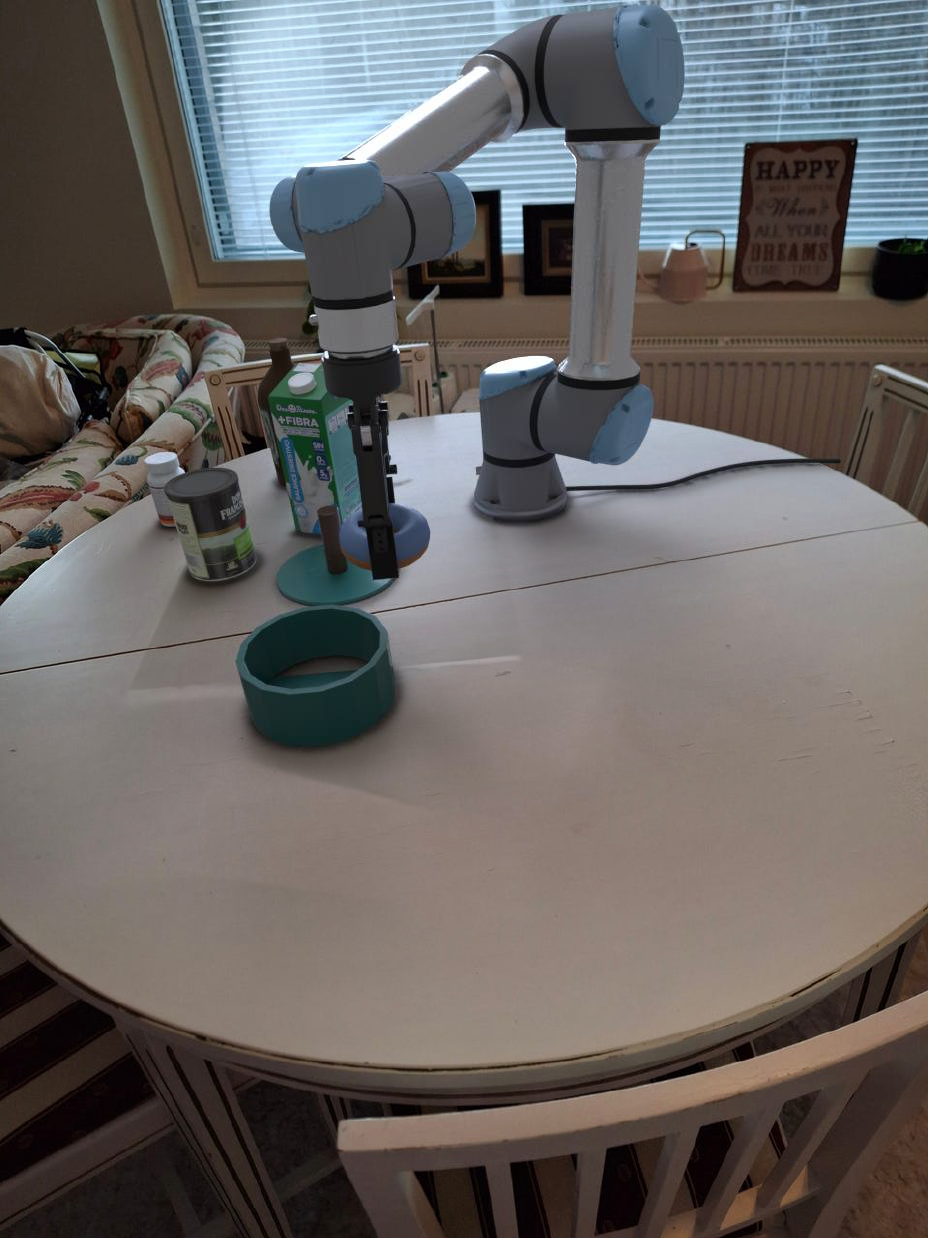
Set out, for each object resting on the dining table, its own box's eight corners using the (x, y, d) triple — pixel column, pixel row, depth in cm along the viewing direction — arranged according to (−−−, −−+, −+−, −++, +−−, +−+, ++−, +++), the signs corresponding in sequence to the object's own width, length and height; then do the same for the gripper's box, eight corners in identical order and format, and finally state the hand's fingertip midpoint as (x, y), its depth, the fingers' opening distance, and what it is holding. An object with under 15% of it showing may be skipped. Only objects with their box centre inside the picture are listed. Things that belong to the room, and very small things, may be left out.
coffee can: (268, 551, 125) (249, 467, 117) (240, 586, 117) (217, 497, 109) (208, 548, 127) (185, 465, 119) (176, 582, 119) (149, 495, 111)
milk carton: (295, 533, 130) (263, 379, 116) (324, 509, 136) (297, 361, 122) (344, 540, 126) (317, 383, 112) (371, 515, 133) (348, 364, 119)
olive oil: (330, 463, 153) (307, 328, 139) (335, 485, 144) (311, 343, 130) (274, 471, 151) (245, 336, 137) (276, 494, 143) (245, 352, 129)
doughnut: (413, 582, 83) (408, 543, 81) (326, 572, 86) (319, 534, 84) (444, 538, 91) (441, 501, 89) (364, 530, 94) (359, 494, 92)
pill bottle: (193, 508, 140) (176, 447, 134) (200, 522, 135) (182, 459, 129) (157, 517, 138) (138, 455, 132) (163, 531, 133) (143, 468, 127)
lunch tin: (395, 649, 101) (388, 599, 97) (394, 739, 87) (386, 685, 83) (262, 661, 101) (249, 611, 97) (240, 753, 87) (223, 700, 83)
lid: (400, 541, 125) (392, 478, 119) (399, 603, 110) (390, 534, 104) (285, 552, 125) (272, 488, 119) (270, 615, 110) (253, 546, 104)
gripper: (328, 322, 86) (356, 511, 98) (309, 387, 67) (347, 610, 79) (398, 317, 86) (417, 506, 98) (399, 379, 67) (423, 603, 79)
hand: (386, 552), depth 89 cm, fingers closed on doughnut, 10 cm apart
